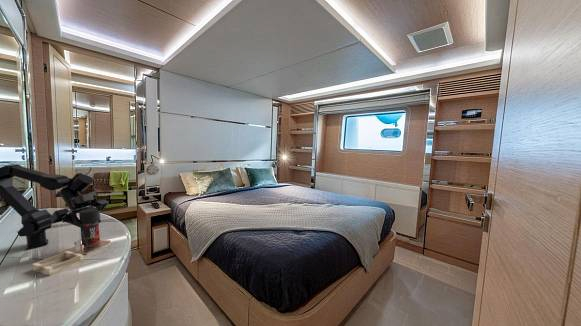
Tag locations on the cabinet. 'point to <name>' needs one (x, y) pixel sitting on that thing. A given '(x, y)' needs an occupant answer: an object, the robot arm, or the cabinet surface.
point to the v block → (87, 247)
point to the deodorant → (89, 226)
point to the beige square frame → (45, 269)
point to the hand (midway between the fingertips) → (91, 224)
